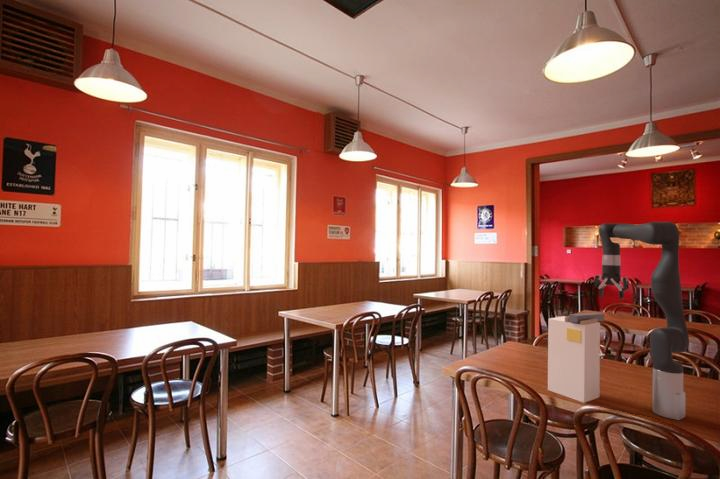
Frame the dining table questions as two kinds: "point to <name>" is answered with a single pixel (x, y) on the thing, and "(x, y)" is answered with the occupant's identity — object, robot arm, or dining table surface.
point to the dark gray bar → (585, 317)
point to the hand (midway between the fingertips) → (611, 297)
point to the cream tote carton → (574, 358)
